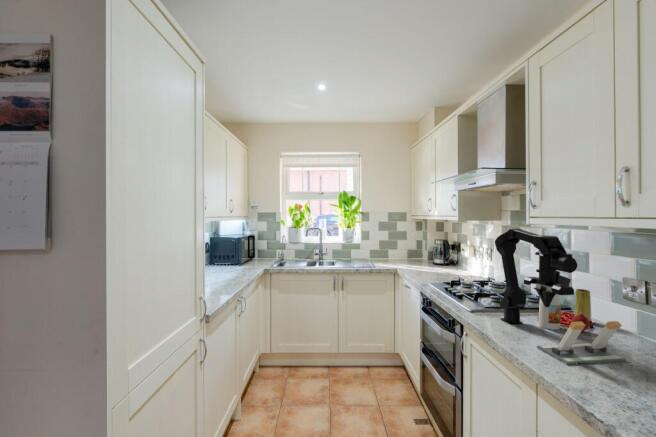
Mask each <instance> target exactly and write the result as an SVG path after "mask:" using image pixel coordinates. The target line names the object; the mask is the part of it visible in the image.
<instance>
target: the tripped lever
mask: <svg viewBox="0 0 656 437" xmlns="http://www.w3.org/2000/svg"><path fill="white" fill-rule="evenodd" d="M585 326H586V325H585V324H584V323H583V322H572V321H571V322H570V324H569V326H568V329H567V330H566V332H565V333H564V335H563V336H562V339H561V341H560V342H559V344H557V345H558V347H557V349H558V350H560V352H564V351H568V350H570V348H571V347H572V345H573V344H575V342H576V341H577V338H579V336H580V334H581V332H583V331H582V329H584V327H585Z"/></svg>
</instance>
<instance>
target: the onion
mask: <svg viewBox="0 0 656 437" xmlns="http://www.w3.org/2000/svg"><path fill="white" fill-rule="evenodd" d="M571 322H583V323H584V324H585V325H586V326H585V327H584V329H582V331H581V332H584V331H586V330H588V329H589V327H590V323H589V321H588V319H587V318H586V317H585V316H584V315H583V314H582V313H579V314H578V315H576V316H573V317H572V318H571Z"/></svg>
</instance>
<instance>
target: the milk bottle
mask: <svg viewBox="0 0 656 437" xmlns="http://www.w3.org/2000/svg"><path fill="white" fill-rule="evenodd" d="M538 306H539V308H538V309H539V311H538V325H539V327H541V328H542V329H543V328H544V329H547V330H551V331H552V330H554V331H557V330H558V331H559V330H560V329H561V314H562V313H561V311H562V310H561V309H562V308H561V307H562V306H561V298H560V295H558V294H556V295H555V296H554V298H553V300H552V302H551V304H550V306H549V307H545V306H544V304H543V302H542V300H541V298H540V297H539V305H538Z"/></svg>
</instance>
